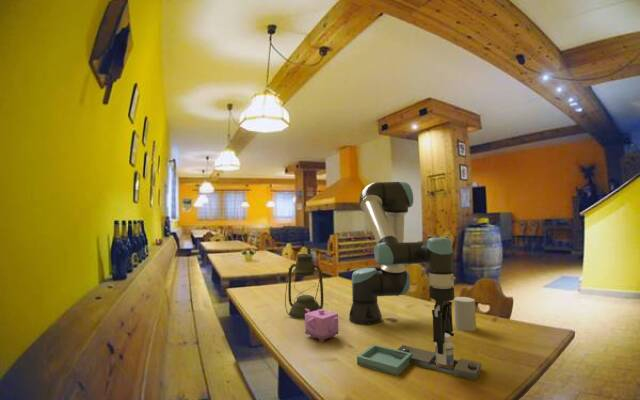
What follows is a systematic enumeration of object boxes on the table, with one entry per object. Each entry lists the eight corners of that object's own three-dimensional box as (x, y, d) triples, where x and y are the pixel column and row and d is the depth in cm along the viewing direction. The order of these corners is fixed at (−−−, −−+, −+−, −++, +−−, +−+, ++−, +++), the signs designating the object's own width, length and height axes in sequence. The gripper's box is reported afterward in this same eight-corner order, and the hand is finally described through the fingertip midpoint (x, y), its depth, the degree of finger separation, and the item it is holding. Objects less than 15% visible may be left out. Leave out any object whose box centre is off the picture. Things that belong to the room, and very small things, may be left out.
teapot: (341, 331, 135) (340, 305, 136) (340, 343, 122) (339, 314, 122) (305, 331, 136) (304, 305, 137) (301, 343, 123) (300, 314, 123)
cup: (478, 331, 131) (477, 302, 131) (457, 330, 132) (456, 301, 133) (473, 325, 139) (471, 297, 139) (453, 324, 140) (452, 296, 141)
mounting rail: (393, 359, 107) (392, 351, 107) (402, 350, 114) (402, 343, 114) (476, 380, 92) (475, 371, 92) (481, 369, 98) (481, 361, 99)
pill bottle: (432, 362, 104) (431, 331, 104) (448, 361, 104) (447, 331, 105) (440, 370, 98) (439, 338, 99) (457, 369, 99) (455, 337, 99)
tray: (357, 364, 104) (356, 356, 104) (374, 351, 114) (373, 344, 114) (397, 376, 96) (397, 367, 96) (412, 361, 105) (411, 353, 106)
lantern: (331, 311, 164) (329, 252, 166) (315, 321, 149) (313, 256, 151) (297, 307, 174) (296, 251, 176) (278, 316, 158) (277, 255, 160)
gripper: (445, 293, 93) (448, 375, 92) (460, 282, 108) (464, 352, 106) (419, 290, 97) (423, 368, 96) (438, 280, 112) (441, 347, 111)
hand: (444, 359), depth 101 cm, fingers closed on pill bottle, 5 cm apart
